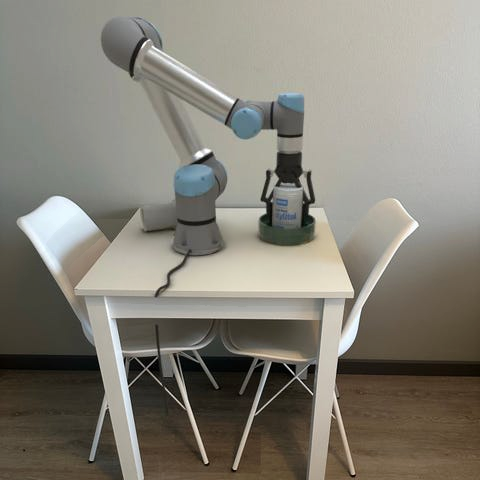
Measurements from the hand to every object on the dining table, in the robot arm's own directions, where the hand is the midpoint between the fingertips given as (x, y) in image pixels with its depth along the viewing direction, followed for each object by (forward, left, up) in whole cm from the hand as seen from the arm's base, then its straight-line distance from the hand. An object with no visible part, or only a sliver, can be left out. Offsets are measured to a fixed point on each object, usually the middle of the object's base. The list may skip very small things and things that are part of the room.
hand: (286, 223), depth 150 cm
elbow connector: (+19, +37, -4) cm, 42 cm away
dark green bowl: (0, 0, -4) cm, 4 cm away
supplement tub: (0, 0, -3) cm, 3 cm away
